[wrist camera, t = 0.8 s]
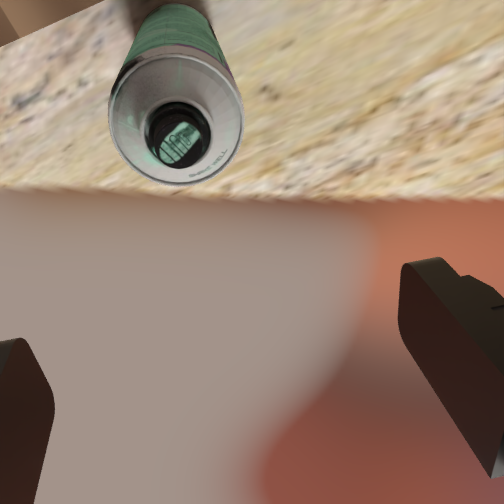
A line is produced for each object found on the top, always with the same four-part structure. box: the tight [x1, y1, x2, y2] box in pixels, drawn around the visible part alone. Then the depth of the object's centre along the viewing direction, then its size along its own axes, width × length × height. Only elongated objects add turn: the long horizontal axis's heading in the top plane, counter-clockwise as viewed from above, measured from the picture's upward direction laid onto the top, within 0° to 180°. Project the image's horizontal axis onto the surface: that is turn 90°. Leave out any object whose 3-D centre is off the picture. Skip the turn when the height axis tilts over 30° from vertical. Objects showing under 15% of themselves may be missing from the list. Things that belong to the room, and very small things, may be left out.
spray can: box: [108, 3, 244, 187], centre depth 25 cm, size 6×6×20 cm
